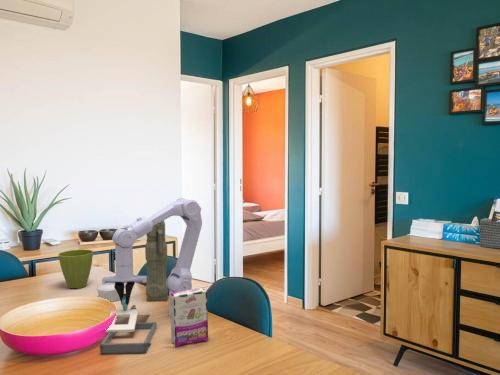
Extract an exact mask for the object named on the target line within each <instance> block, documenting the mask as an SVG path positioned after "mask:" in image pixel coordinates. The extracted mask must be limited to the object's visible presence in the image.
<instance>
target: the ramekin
mask: <svg viewBox="0 0 500 375" xmlns="http://www.w3.org/2000/svg"><path fill="white" fill-rule="evenodd" d="M125 285H126V284H124V289H125ZM114 286H115V283H106V284H101V285H99V286H97V288H96V291H97V294H98V298H99V297H101V298H104V299H107V300H109V301H113V302H116V301H117V300H118V301H120V298H119V295H118V293H117V291H116V289H115V288H114Z"/></svg>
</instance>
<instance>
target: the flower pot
mask: <svg viewBox="0 0 500 375" xmlns="http://www.w3.org/2000/svg"><path fill="white" fill-rule="evenodd" d="M57 257H58V261H59V264H60V269H61V273H62V276H63V277H64V280H65V283H66V285H67V287H68V288H69V289H70V288H79V289H83V288H85V287H86V286H87V283H88V281H89V277H90V273H91V270H92V264H93V257H94V250H91V249H72V250H65V251H62V252H60V253H58V254H57ZM82 287H83V288H82Z"/></svg>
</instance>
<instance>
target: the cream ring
mask: <svg viewBox="0 0 500 375" xmlns="http://www.w3.org/2000/svg"><path fill="white" fill-rule="evenodd" d="M121 306H122V309H111V310H110V313H109V316H111V315H112V314H113V313H114V312H115V311H116V316H115V318H114V320H113V322H112V324H111V325H110V326H109V328H108V329H107V330H106V329H105V330H106V331H105V333H109V332H116V333H129V332H130V333H132V332H133V333H134V332H135V331H136V330H135V326H136V321H137V316H138V315H139V308H136V309H130V308H129V304H127V305H126V293H124V295H123V299H122V305H121ZM128 308H129V309H128ZM117 317H130V318H129V323H128V324H122V325H115V323H116V319H117Z"/></svg>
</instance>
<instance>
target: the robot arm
mask: <svg viewBox="0 0 500 375" xmlns="http://www.w3.org/2000/svg"><path fill="white" fill-rule="evenodd" d="M201 211H202V207H201V205H200V204H199V203H198V202H197V200H195V199H186V198H180V197H179V198H178V199H176V200H174V201H172V202H171V201H170V203H169V204H167V205H166V206H165V207H163V208H161V209H159V210H158V211H156V212H155V213H153V214H152V215H150V216H149V217H145V216H143V217H136V220H135V221H134V222H132V223H129V224H125V225H124V228H119V229H117V230H116V231H115V232H114V233H113V235H112V237H111V239H112V242H113V243H114V249H115V252H114V258H115V262H114V263H115V275H112V276H104V277H102V280H101V285H104V284H110V283H115V286H114V288H115V289H116V291H117V293H118V295H119V298H120V300H119V301H120V304H121V306H122V299H123V295H124V294H126V305H127V304H128V305H129V304H130V300H131V294H132V292H133V288H134V287H135V284H136V283H137V284H138V283H143V284H147V275H137V274H134V257H133V256H134V254H133V253H134V252H133V246H134V244H135V242H136V241H137V240H139V239H140V238H143V237H144V236H147V233H149V232H151V231H152V228H153V226H154V225H156V224H158V223H160V222H161V221H163V220H164V221H165V220H167V219H169V218H171V217H175V216H176V217H180V218H182V220H183V221H184V223H185V225H186V228H185V232H184V234H183V238H182V242H181V246H180V249H179V254H178V258H177V260H176V265H175V267H173V269H171V271H170V274H169V276H168V277H166V279H167V281H166V286H167V288H168V302H169V303H168V305H169V308H168V309H169V312H168V313H169V317H170V318H171V312H170V293H172V292H178V291H184V290H190V289H193V288H192V287H193V285H192V284H193V283H192V279H193V275H192V272H191V268H192V264H193V261H194V256H195V252H196V249H197V246H198V241H199V238H200V234H201V232H202V231H201V230H202V227H203V219H202V213H201ZM124 285H125V288H124Z"/></svg>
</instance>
